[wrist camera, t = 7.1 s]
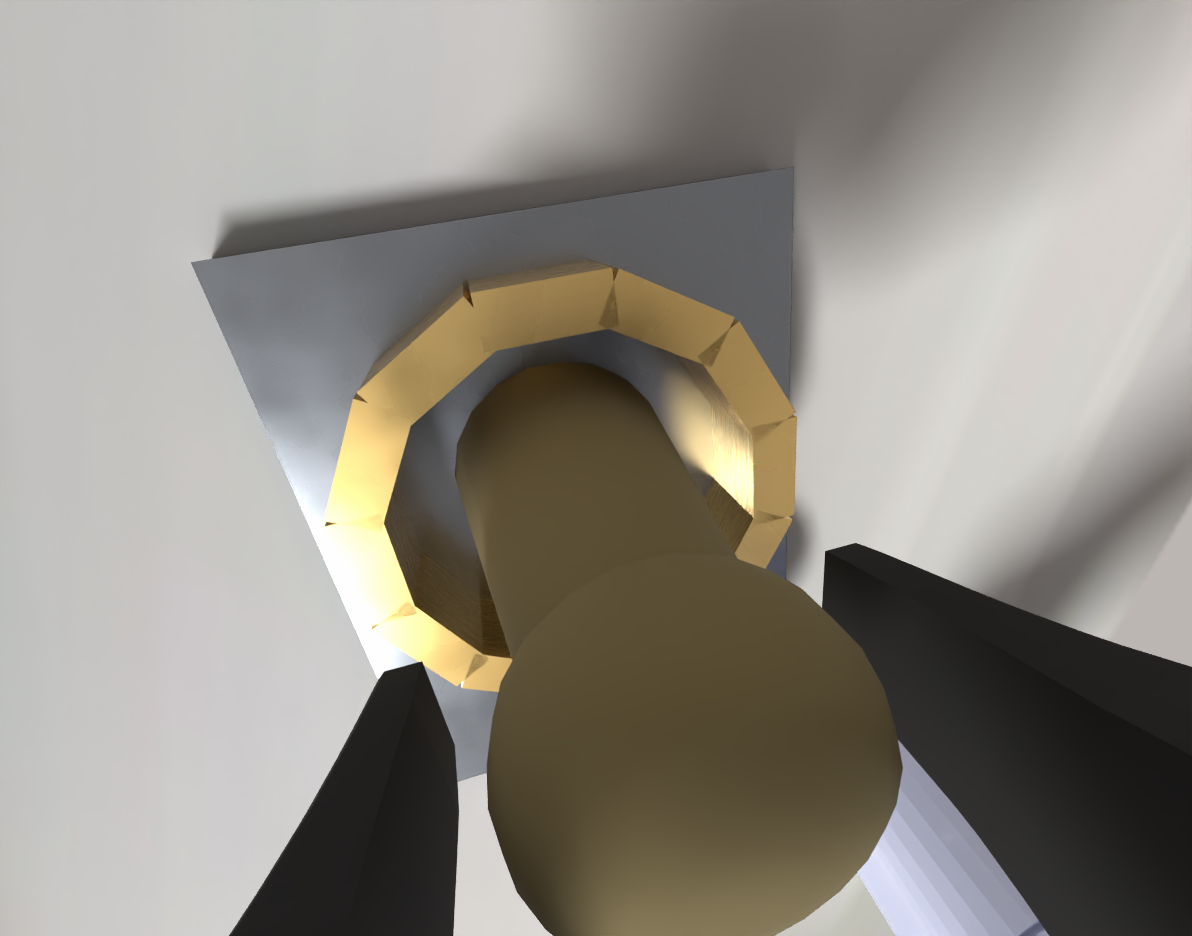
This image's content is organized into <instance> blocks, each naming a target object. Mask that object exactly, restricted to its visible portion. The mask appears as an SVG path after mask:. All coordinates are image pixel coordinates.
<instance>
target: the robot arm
mask: <svg viewBox="0 0 1192 936" xmlns="http://www.w3.org/2000/svg"><path fill="white" fill-rule="evenodd" d="M822 609H823V610H824V611H826V612H827V613H828V614H829V615H830V616H831V617H832V618H833V619H834V620H835V621H836V622H837V623H838V624H839V625H840V626H841V627H842V628H843V629H844V630H845V631H846V632H847V633H848V634H849V635H850V637H851V638H852V639H853V640H854V641H855V642H856V643H857V644H858V645H859V646H860V647H861V648H862V649H863V651H864V653H865V655H866V657H867V658H868V660H869V662H870V664H871V666H872V667H873V669H874V671H875V673H876V675H877V676H878V678H879V680H880V682H881V684H882V686H883V687H884V690H885V694H886V697H887V700H888V703H889V706H890V709H891V713H892V716H893V719H894V722H895V726H896V732H897V737H898V743H899V748H900V754H901V759H902V765H903V771H902V777H901V782H900V788H899V794H898V799H897V805H896V807H895V809H894V811H893V814H892V816H891V818H890V820H889V822H888V825H887V827H886V829H885V831H884V833H883V834H882V836H881V838H880V840H879V842H878V843H877V845H876V847H875V849H874V851H873V852H872V854H871V856H870V858H869V860H868V861H867V862H866V863H865V864H864V865H863V866H862V868H861V869H860V870H859V871H858V872H857V873H858V875H859V877H860V878H861V880H862V881H863V883H864V885H865V886H866V888H867V890H868V891H869V893H870V894H871V896H872V898H873V899H874V901H875V903H876V904H877V906H878V908H879V909H880V911H881V912H882V914H883V916H884V917H885V919H886V921H887V922H888V924H889V925H890V927H891V929H892V930H893V932H894V934H895V935H896V936H1192V667H1190V666H1187V665H1184V664H1180V663H1177V662H1174V661H1171V660H1167V659H1164V658H1161V657H1157V656H1155V655H1151V654H1148V653H1145V652H1142V651H1138V650H1135V649H1132V648H1129V647H1125V646H1122V645H1119V644H1116V643H1113V642H1110V641H1107V640H1104V639H1101V638H1098V637H1095V636H1093V635H1090V634H1087V633H1084V632H1081V631H1078V630H1076V629H1073V628H1070V627H1067V626H1065V625H1062V624H1059V623H1056V622H1054V621H1051V620H1048V619H1045V618H1043V617H1040V616H1037V615H1034V614H1032V613H1029V612H1027V611H1024V610H1021V609H1019V608H1016V607H1014V606H1011V605H1008V604H1006V603H1003V602H1001V601H998V600H996V599H993V598H991V597H988V596H986V595H983V594H981V593H978V592H976V591H973V590H971V589H969V588H966V587H964V586H961V585H959V584H956V583H954V582H952V581H949V580H947V579H944V578H942V577H940V576H937V575H935V574H932V573H930V572H928V571H925V570H923V569H920V568H918V567H916V566H913V565H911V564H908V563H906V562H904V561H901V560H899V559H896V558H894V557H891V556H889V555H886V554H884V553H881V552H879V551H876V550H874V549H871V548H868V547H866V546H863V545H860V544H857V543H854V544H850V545H847V546H843V547H839V548H836V549H832V550H828V551H825V566H824V584H823V602H822ZM458 820H459V804H458V785H457V769H456V754H455V744H454V742H453V739H452V737H451V734H450V731H449V729H448V726H447V724H446V721H445V719H444V716H443V713H442V711H441V708H440V706H439V703H438V700H437V698H436V695H435V693H434V690H433V688H432V685H431V682H430V680H429V677H428V675H427V672H426V669H425V667H424V664H423V662H422V661H421V662H417V663H413V664H410V665H406V666H402V667H399V668H395V669H391V670H388V671H384V672H383V674H382V675H381V677H380V678H379V680H378V682H377V684H376V685H375V687H374V689H373V691H372V693H371V695H370V697H369V699H368V701H367V703H366V705H365V707H364V709H363V711H362V713H361V714H360V716H359V718H358V720H357V722H356V724H355V726H354V728H353V730H352V732H351V733H350V735H349V737H348V739H347V741H346V743H345V745H344V747H343V748H342V750H341V752H340V754H339V756H338V758H337V760H336V761H335V763H334V765H333V767H332V768H331V770H330V772H329V774H328V775H327V777H326V779H325V781H324V783H323V784H322V786H321V788H320V790H319V791H318V793H317V795H316V797H315V799H314V800H313V802H312V804H311V806H310V807H309V809H308V811H307V813H306V814H305V816H304V818H303V819H302V821H301V823H300V824H299V826H298V828H297V829H296V831H295V833H294V834H293V836H292V837H291V839H290V841H289V842H288V844H287V846H286V847H285V849H284V850H283V852H282V854H281V855H280V857H279V859H278V860H277V862H276V863H275V865H274V867H273V868H272V870H271V872H270V873H269V875H268V876H267V878H266V880H265V881H264V883H263V885H262V886H261V888H260V889H259V891H258V892H257V894H256V896H255V897H254V899H253V900H252V902H251V903H250V905H249V906H248V908H247V909H246V911H245V912H244V914H243V915H242V917H241V918H240V920H239V922H238V923H237V925H236V926H235V928H234V929H233V931H232V932H231V934H230V935H229V936H453V928H454V908H455V888H456V867H457V844H458Z"/></svg>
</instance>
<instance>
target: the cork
mask: <svg viewBox="0 0 1192 936" xmlns="http://www.w3.org/2000/svg"><path fill="white" fill-rule="evenodd" d="M455 479H456V482H457V485H458V489H459V492H460V496H461V499H462V503H463V506H464V509H465V512H466V515H467V519H468V522H469V525H470V528H471V531H472V534H473V538H474V541H475V544H476V547H477V550H478V553H479V557H480V560H481V563H482V566H483V569H484V572H485V576H486V579H487V582H488V585H489V588H490V591H491V595H492V598H493V601H494V604H495V607H496V611H497V614H498V617H499V620H500V623H501V626H502V630H503V633H504V636H505V639H506V642H507V645H508V649H509V652H510V655H511V658H512V662H511V664H510V666H509V668H508V670H507V672H506V673H505V675H504V677H503V679H502V681H501V684H500V688H499V692H498V696H497V701H496V705H495V709H494V713H493V718H492V725H491V733H490V741H489V749H488V757H487V790H488V810H489V813H490V817H491V820H492V823H493V826H494V829H495V832H496V835H497V838H498V841H499V844H500V847H501V850H502V854H503V856H504V859H505V862H506V864H507V867H508V870H509V872H510V875H511V877H512V880H513V883H514V885H515V888H516V890H517V893H518V894H519V895H520V897H521V898H522V899H523V901H524V902H525V903H526V905H527V906H528V907H529V908H530V910H531V911H532V912H533V914H534V915H535V916H536V918H537V919H538V920H539V921H540V923H541V924H542V925H543V927H544V928H545V929H546V930H547V931H548V932H549V933H551V934H552V935H553V936H775V935H776V934H778V933H780V932H782V931H784V930H785V929H787V928H789V927H791V926H792V925H794V924H796V923H798V922H800V921H801V920H803V919H805V918H806V917H807V916H809V915H810V914H811V913H813V912H814V911H815V910H816V909H818V908H819V907H820V906H822V905H823V904H824V903H825V902H827V901H828V900H829V899H831V898H832V897H833V896H834V895H836V894H837V893H838V892H840V891H841V890H842V888H843V887H844V886H845V885H846V884H847V883H848V882H849V881H850V880H851V879H852V877H853V876H854V875H855V874H856V873H857V872H858V871H859V870H860V869H861V868H862V866H863V865H864V864H865V863H866V862H867V861H868V860H869V858H870V856H871V854H872V852H873V851H874V849H875V847H876V845H877V843H878V842H879V840H880V838H881V836H882V834H883V833H884V831H885V829H886V827H887V825H888V822H889V820H890V818H891V816H892V814H893V811H894V809H895V807H896V805H897V799H898V794H899V788H900V782H901V777H902V771H903V765H902V759H901V754H900V748H899V743H898V737H897V732H896V726H895V722H894V719H893V716H892V713H891V709H890V706H889V703H888V700H887V697H886V694H885V690H884V687H883V686H882V684H881V682H880V680H879V678H878V676H877V675H876V673H875V671H874V669H873V667H872V666H871V664H870V662H869V660H868V658H867V657H866V655H865V653H864V651H863V649H862V648H861V647H860V646H859V645H858V644H857V643H856V642H855V641H854V640H853V639H852V638H851V637H850V635H849V634H848V633H847V632H846V631H845V630H844V629H843V628H842V627H841V626H840V625H839V624H838V623H837V622H836V621H835V620H834V619H833V618H832V617H831V616H830V615H829V614H828V613H827V612H826V611H824V610H823V609H822V608H821V607H820V606H819V605H818V604H817V603H816V602H815V601H814V600H813V599H812V598H811V597H810V596H809V595H808V594H807V593H806V592H804V591H803V590H802V589H801V588H799V587H798V586H796V585H794V584H792V583H791V582H789V581H787V580H786V579H784V578H782V577H780V576H779V575H777V574H775V573H773V572H772V571H770V570H767V569H764V568H762V567H759V566H756V565H753V564H750V563H748V562H745V561H742V560H739V559H737V557H736V555H735V553H734V551H733V550H732V548H731V546H730V544H729V543H728V541H727V539H726V537H725V535H724V534H723V532H722V530H721V528H720V527H719V525H718V523H717V521H716V520H715V518H714V516H713V514H712V512H711V511H710V509H709V507H708V505H707V504H706V502H705V500H704V498H703V496H702V495H701V493H700V491H699V489H698V488H697V486H696V484H695V482H694V480H693V479H692V477H691V475H690V473H689V472H688V470H687V468H686V466H685V464H684V463H683V461H682V459H681V457H680V456H679V454H678V452H677V450H676V448H675V447H674V445H673V443H672V441H671V440H670V438H669V436H668V434H667V433H666V431H665V429H664V427H663V425H662V424H661V422H660V420H659V418H658V417H657V415H656V413H655V411H654V409H653V408H652V406H651V404H650V402H649V401H648V400H647V399H646V398H645V397H644V396H643V395H642V394H641V393H640V392H639V391H638V390H637V389H636V388H635V387H634V386H633V385H632V384H631V383H630V382H629V381H628V380H627V379H625V378H623V377H621V376H619V375H616V374H614V373H612V372H610V371H608V370H606V369H604V368H602V367H600V366H598V365H590V364H581V363H573V362H564V361H562V362H557V363H552V364H547V365H542V366H537V367H532V368H527V369H525V370H523V371H522V372H520V373H518V374H516V375H514V376H513V377H511V378H509V379H507V380H506V381H504V382H502V383H500V384H498V385H497V386H495V387H494V388H493V389H492V390H491V391H490V392H489V393H488V395H487V396H486V397H485V398H484V399H483V400H482V401H481V402H480V403H479V404H478V405H477V406H476V408H475V409H474V410H473V411H472V412H471V413H470V416H469V418H468V420H467V422H466V425H465V427H464V429H463V431H462V434H461V436H460V438H459V440H458V443H457V451H456V465H455Z"/></svg>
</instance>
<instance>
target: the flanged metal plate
mask: <svg viewBox="0 0 1192 936" xmlns="http://www.w3.org/2000/svg"><path fill="white" fill-rule="evenodd" d="M793 173H794V167H790V168H783V169H777V170H771V171H764V172H758V173H752V174H745V175H739V176H733V177H727V178H720V179H714V180H708V181H701V182H695V183H689V184H682V185H676V186H670V187H663V188H657V189H651V190H645V191H638V192H632V193H626V194H619V195H613V196H607V197H600V198H594V199H588V200H581V201H575V202H569V203H562V204H556V205H550V206H544V207H537V208H531V209H525V210H518V211H512V212H506V213H499V214H493V215H487V216H480V217H474V218H468V219H462V220H455V221H449V222H443V223H436V224H430V225H424V226H417V227H411V228H405V229H398V230H392V231H386V232H380V233H373V234H367V235H361V236H354V237H348V238H342V239H335V240H329V241H323V242H316V243H310V244H304V245H298V246H291V247H285V248H279V249H272V250H266V251H260V252H253V253H247V254H241V255H234V256H228V257H222V258H216V259H209V260H203V261H197V262H191V264H192V266H193V268H194V270H195V273H196V275H197V277H198V279H199V282H200V284H201V286H202V288H203V291H204V293H205V295H206V297H207V299H208V302H209V304H210V306H211V308H212V311H213V313H214V315H215V317H216V320H217V322H218V324H219V326H220V328H221V331H222V333H223V335H224V337H225V340H226V342H227V344H228V346H229V349H230V351H231V353H232V355H233V357H234V360H235V362H236V364H237V366H238V369H239V371H240V373H241V375H242V378H243V380H244V382H245V384H246V386H247V389H248V391H249V393H250V395H251V398H252V400H253V402H254V404H255V407H256V409H257V411H258V413H259V415H260V418H261V420H262V422H263V424H264V427H265V429H266V431H267V433H268V435H269V438H270V440H271V442H272V444H273V447H274V449H275V451H276V453H277V456H278V458H279V460H280V462H281V464H282V467H283V469H284V471H285V473H286V476H287V478H288V480H289V482H290V485H291V487H292V489H293V491H294V493H295V496H296V498H297V500H298V502H299V505H300V507H301V509H302V511H303V514H304V516H305V518H306V520H307V522H308V525H309V527H310V529H311V531H312V534H313V536H314V538H315V540H316V543H317V545H318V547H319V549H320V551H321V554H322V556H323V558H324V560H325V563H326V565H327V567H328V569H329V572H330V574H331V576H332V578H333V580H334V583H335V585H336V587H337V589H338V592H339V594H340V596H341V598H342V601H343V603H344V605H345V607H346V609H347V612H348V614H349V616H350V618H351V621H352V623H353V625H354V627H355V630H356V632H357V634H358V636H359V638H360V641H361V643H362V645H363V647H364V650H365V652H366V654H367V656H368V659H369V661H370V663H371V665H372V667H373V670H374V672H375V674H376V676H377V679H378V680H379V678H380V677H381V675H382V674H383V672H384V671H388V670H391V669H395V668H399V667H402V666H406V665H410V664H413V663H417V662H421V661H422V662H423V664H424V667H425V669H426V672H427V675H428V677H429V680H430V682H431V685H432V688H433V690H434V693H435V695H436V698H437V700H438V703H439V706H440V708H441V711H442V713H443V716H444V719H445V721H446V724H447V726H448V729H449V731H450V734H451V737H452V739H453V742H454V744H455V754H456V769H457V782H458V781H461V780H465V779H468V778H471V777H474V776H478V775H481V774H484V773H487V757H488V749H489V741H490V733H491V725H492V718H493V713H494V709H495V705H496V701H497V696H498V692H499V688H500V684H501V681H502V679H503V677H504V675H505V673H506V672H507V670H508V668H509V666H510V664H511V662H512V658H511V655H510V652H509V649H508V645H507V642H506V639H505V636H504V633H503V630H502V626H501V623H500V620H499V617H498V614H497V611H496V607H495V604H494V601H493V598H492V595H491V591H490V588H489V585H488V582H487V579H486V576H485V572H484V569H483V566H482V563H481V560H480V557H479V553H478V550H477V547H476V544H475V541H474V538H473V534H472V531H471V528H470V525H469V522H468V519H467V515H466V512H465V509H464V506H463V503H462V499H461V496H460V492H459V489H458V485H457V482H456V479H455V465H456V451H457V443H458V440H459V438H460V436H461V434H462V431H463V429H464V427H465V425H466V422H467V420H468V418H469V416H470V413H471V412H472V411H473V410H474V409H475V408H476V406H477V405H478V404H479V403H480V402H481V401H482V400H483V399H484V398H485V397H486V396H487V395H488V393H489V392H490V391H491V390H492V389H493V388H494V387H495V386H497V385H498V384H500V383H502V382H504V381H506V380H507V379H509V378H511V377H513V376H514V375H516V374H518V373H520V372H522V371H523V370H525V369H527V368H532V367H537V366H542V365H547V364H552V363H557V362H562V361H564V362H573V363H581V364H590V365H598V366H600V367H602V368H604V369H606V370H608V371H610V372H612V373H614V374H616V375H619V376H621V377H623V378H625V379H627V380H628V381H629V382H630V383H631V384H632V385H633V386H634V387H635V388H636V389H637V390H638V391H639V392H640V393H641V394H642V395H643V396H644V397H645V398H646V399H647V400H648V401H649V402H650V404H651V406H652V408H653V409H654V411H655V413H656V415H657V417H658V418H659V420H660V422H661V424H662V425H663V427H664V429H665V431H666V433H667V434H668V436H669V438H670V440H671V441H672V443H673V445H674V447H675V448H676V450H677V452H678V454H679V456H680V457H681V459H682V461H683V463H684V464H685V466H686V468H687V470H688V472H689V473H690V475H691V477H692V479H693V480H694V482H695V484H696V486H697V488H698V489H699V491H700V493H701V495H702V496H703V498H704V500H705V502H706V504H707V505H708V507H709V509H710V511H711V512H712V514H713V516H714V518H715V520H716V521H717V523H718V525H719V527H720V528H721V530H722V532H723V534H724V535H725V537H726V539H727V541H728V543H729V544H730V546H731V548H732V550H733V551H734V553H735V555H736V557H737V559H739V560H742V561H745V562H748V563H750V564H753V565H756V566H759V567H762V568H764V569H767V570H770V571H772V572H773V573H775V574H777V575H779V576H780V577H782V578H784V579H786V539H787V529H788V528H789V526H790V524H791V522H792V519H791V518H790V517H789V516H793V515H794V501H795V463H796V425H797V417H796V416H794V415H793V413H795V410H794V409H793V407H792V406H791V404H790V402H789V382H790V330H791V277H792V225H793Z"/></svg>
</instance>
